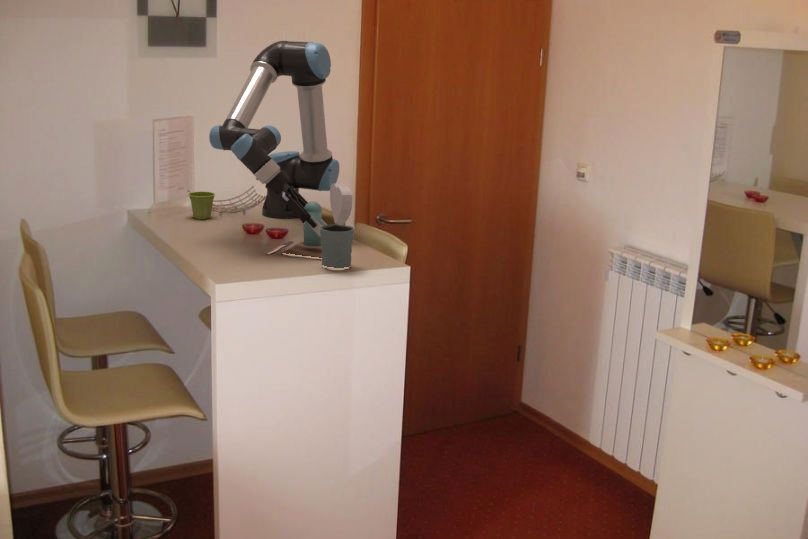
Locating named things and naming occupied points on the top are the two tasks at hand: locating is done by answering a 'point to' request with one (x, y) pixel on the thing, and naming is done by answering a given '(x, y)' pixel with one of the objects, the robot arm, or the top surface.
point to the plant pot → (201, 204)
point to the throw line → (288, 242)
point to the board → (305, 250)
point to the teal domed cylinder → (309, 233)
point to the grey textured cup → (336, 245)
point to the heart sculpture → (340, 202)
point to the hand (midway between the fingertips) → (324, 231)
